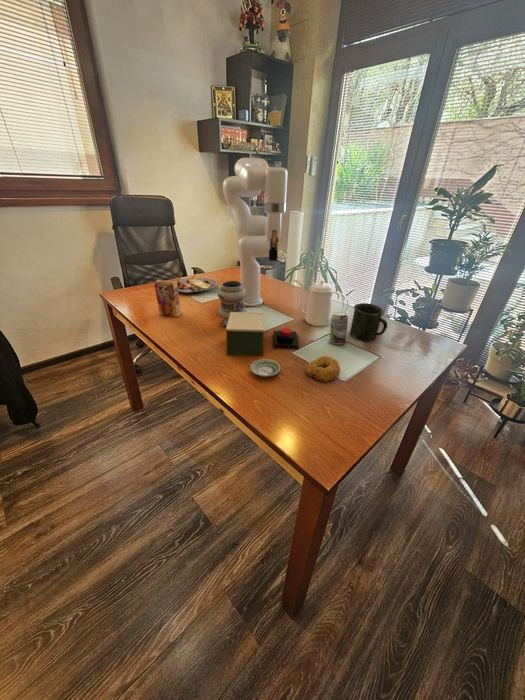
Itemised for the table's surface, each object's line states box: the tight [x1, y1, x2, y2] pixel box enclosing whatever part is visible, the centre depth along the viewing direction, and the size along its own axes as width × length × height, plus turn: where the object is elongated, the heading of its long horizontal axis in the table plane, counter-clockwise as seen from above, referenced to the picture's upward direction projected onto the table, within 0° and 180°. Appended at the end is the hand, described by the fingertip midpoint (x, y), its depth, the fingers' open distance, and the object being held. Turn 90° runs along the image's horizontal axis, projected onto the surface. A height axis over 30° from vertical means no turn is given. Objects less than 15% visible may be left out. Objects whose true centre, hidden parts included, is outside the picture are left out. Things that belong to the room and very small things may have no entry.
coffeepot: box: [293, 279, 349, 327], centre depth 124 cm, size 11×25×19 cm, turn 62°
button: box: [280, 327, 293, 336], centre depth 111 cm, size 4×4×2 cm
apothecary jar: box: [216, 280, 248, 329], centre depth 120 cm, size 12×12×18 cm
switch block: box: [273, 329, 300, 350], centre depth 112 cm, size 11×9×4 cm
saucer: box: [250, 358, 282, 378], centre depth 94 cm, size 10×10×2 cm
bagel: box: [305, 355, 341, 382], centre depth 94 cm, size 10×11×5 cm
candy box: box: [153, 279, 182, 318], centre depth 129 cm, size 9×4×15 cm, turn 78°
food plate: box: [176, 275, 217, 293], centre depth 163 cm, size 25×23×4 cm
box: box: [225, 322, 265, 356], centre depth 107 cm, size 14×13×10 cm
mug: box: [349, 302, 388, 342], centre depth 114 cm, size 11×15×12 cm
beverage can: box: [329, 311, 349, 345], centre depth 110 cm, size 6×7×12 cm
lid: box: [225, 311, 265, 333], centre depth 104 cm, size 14×13×1 cm
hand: (272, 260), depth 113 cm, fingers closed
